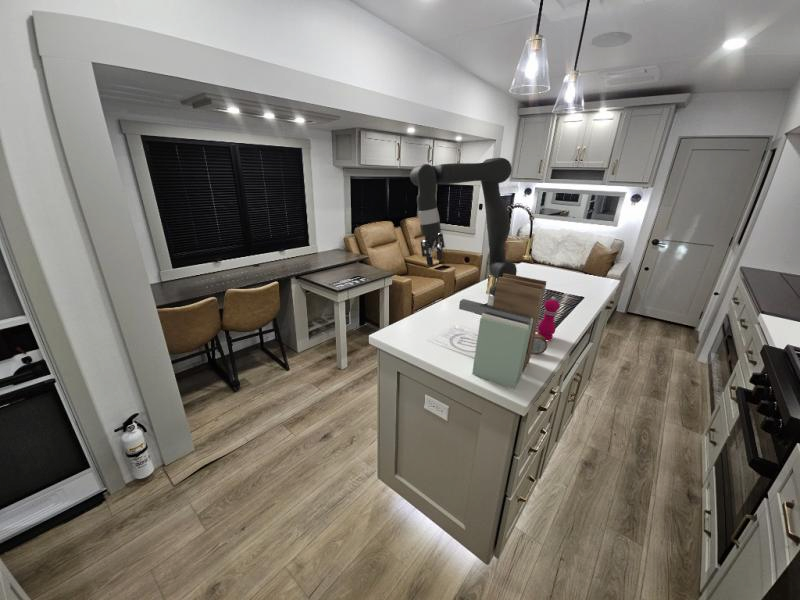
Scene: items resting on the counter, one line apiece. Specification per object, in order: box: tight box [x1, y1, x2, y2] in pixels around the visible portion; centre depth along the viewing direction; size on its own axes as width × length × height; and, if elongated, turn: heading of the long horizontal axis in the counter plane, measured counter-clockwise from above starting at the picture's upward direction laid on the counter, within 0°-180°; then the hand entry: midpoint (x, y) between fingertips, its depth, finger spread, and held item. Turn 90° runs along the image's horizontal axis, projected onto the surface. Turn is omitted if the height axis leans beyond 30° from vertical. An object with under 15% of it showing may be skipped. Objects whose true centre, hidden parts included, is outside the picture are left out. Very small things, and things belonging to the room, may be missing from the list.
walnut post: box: [493, 273, 547, 373], centre depth 118 cm, size 9×15×33 cm, turn 57°
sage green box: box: [471, 313, 533, 390], centre depth 110 cm, size 9×15×23 cm, turn 57°
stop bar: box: [458, 298, 532, 326], centre depth 108 cm, size 3×24×3 cm, turn 56°
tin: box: [531, 333, 548, 355], centre depth 130 cm, size 15×3×8 cm, turn 74°
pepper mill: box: [537, 296, 561, 341], centre depth 141 cm, size 7×7×20 cm
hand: (435, 263), depth 125 cm, fingers open, 8 cm apart
